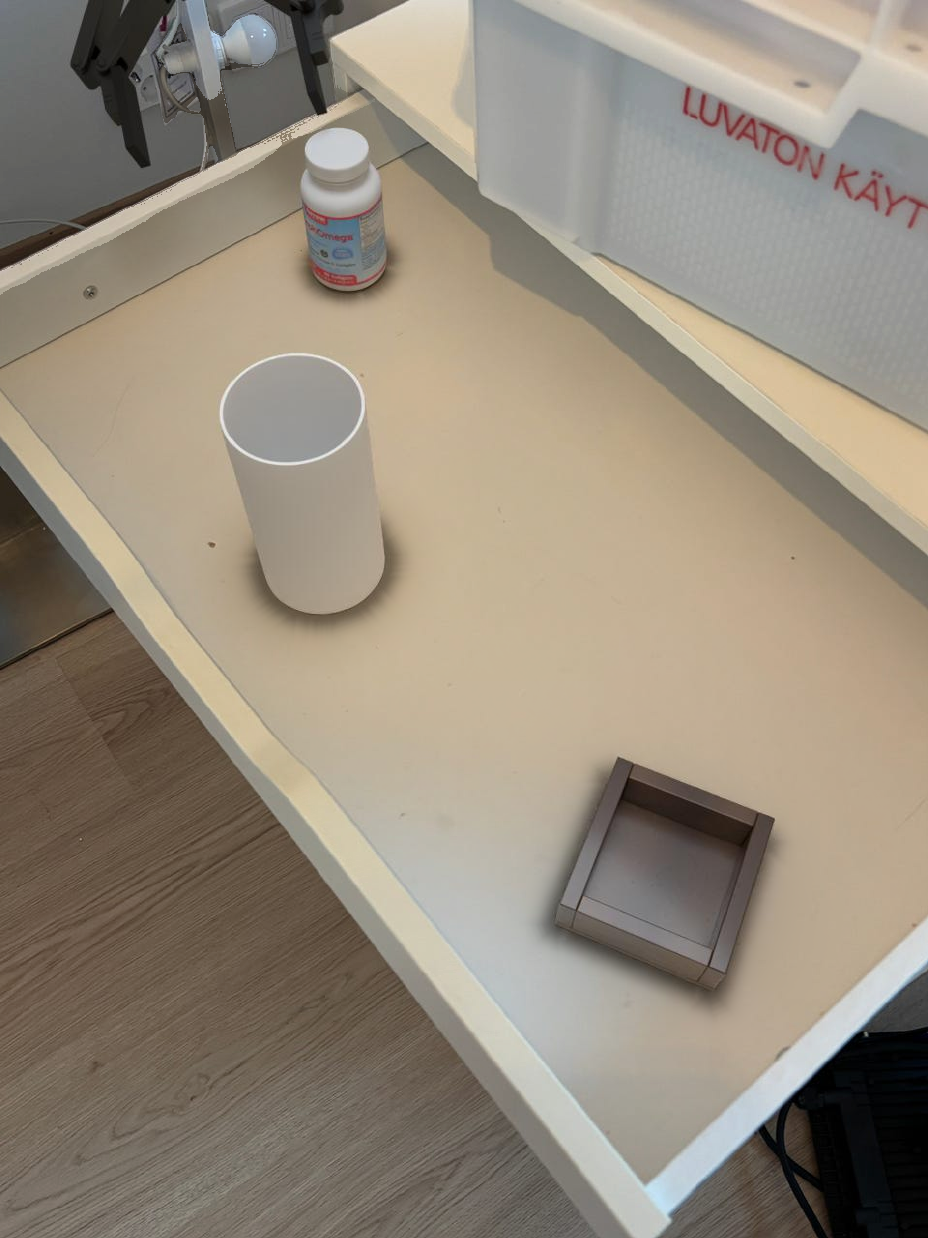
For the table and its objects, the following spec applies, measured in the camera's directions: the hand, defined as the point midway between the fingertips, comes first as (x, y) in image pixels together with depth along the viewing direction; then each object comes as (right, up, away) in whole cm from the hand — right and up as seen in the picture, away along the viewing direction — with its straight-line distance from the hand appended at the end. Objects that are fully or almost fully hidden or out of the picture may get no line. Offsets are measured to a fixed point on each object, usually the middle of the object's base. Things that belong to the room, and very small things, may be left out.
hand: (227, 131), depth 82 cm
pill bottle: (+8, -7, +10) cm, 15 cm away
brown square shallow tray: (+28, -50, -15) cm, 60 cm away
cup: (+7, -31, -4) cm, 32 cm away
